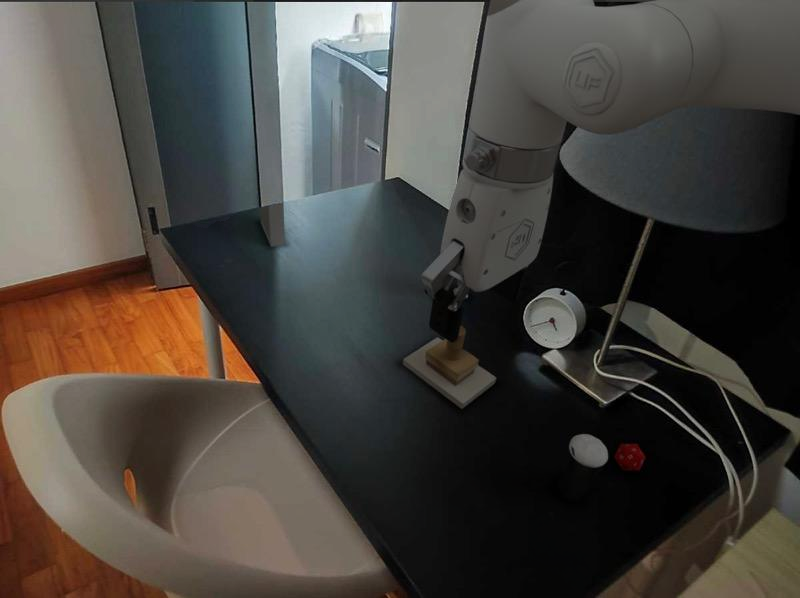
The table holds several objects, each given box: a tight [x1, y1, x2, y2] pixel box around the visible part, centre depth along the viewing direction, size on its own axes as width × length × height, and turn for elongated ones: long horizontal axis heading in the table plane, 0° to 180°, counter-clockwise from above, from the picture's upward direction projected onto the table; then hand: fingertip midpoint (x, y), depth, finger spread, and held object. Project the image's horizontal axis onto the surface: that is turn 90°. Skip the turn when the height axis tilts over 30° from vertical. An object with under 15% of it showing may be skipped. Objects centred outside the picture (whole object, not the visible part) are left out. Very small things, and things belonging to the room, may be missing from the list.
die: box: [613, 443, 646, 472], centre depth 76 cm, size 4×3×4 cm
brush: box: [425, 325, 480, 386], centre depth 85 cm, size 6×5×8 cm
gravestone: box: [259, 201, 286, 248], centre depth 110 cm, size 3×9×18 cm, turn 22°
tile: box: [402, 336, 497, 410], centre depth 88 cm, size 12×8×1 cm, turn 45°
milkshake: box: [557, 433, 609, 502], centre depth 70 cm, size 4×5×10 cm
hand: (474, 313), depth 58 cm, fingers open, 9 cm apart
